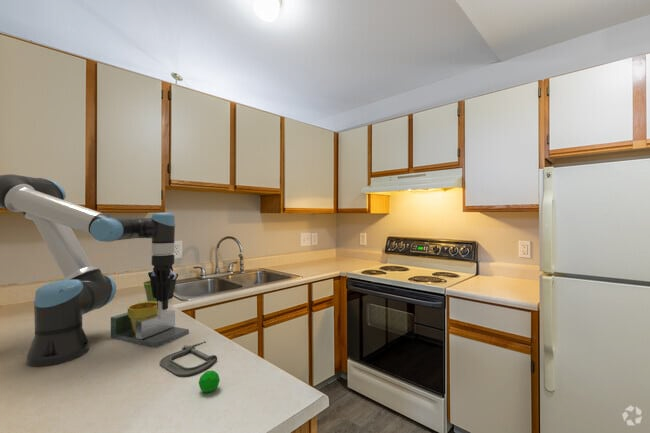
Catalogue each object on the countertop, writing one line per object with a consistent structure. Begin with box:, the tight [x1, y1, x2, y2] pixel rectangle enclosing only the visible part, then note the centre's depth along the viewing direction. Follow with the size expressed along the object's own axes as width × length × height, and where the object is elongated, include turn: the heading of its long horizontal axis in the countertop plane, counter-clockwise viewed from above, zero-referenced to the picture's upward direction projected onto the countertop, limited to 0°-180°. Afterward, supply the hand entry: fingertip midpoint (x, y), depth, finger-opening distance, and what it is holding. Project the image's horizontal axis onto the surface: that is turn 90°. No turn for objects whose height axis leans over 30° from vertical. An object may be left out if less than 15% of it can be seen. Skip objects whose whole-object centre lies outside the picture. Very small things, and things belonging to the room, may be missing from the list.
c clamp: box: [159, 340, 218, 377], centre depth 95 cm, size 20×17×3 cm
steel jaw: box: [136, 309, 176, 339], centre depth 113 cm, size 14×3×6 cm, turn 157°
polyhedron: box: [198, 369, 221, 393], centre depth 78 cm, size 5×5×5 cm
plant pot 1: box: [127, 301, 158, 333], centre depth 115 cm, size 10×10×10 cm
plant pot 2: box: [142, 279, 157, 302], centre depth 159 cm, size 12×12×11 cm
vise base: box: [110, 311, 190, 349], centre depth 115 cm, size 14×24×8 cm, turn 67°
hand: (162, 317), depth 112 cm, fingers closed
